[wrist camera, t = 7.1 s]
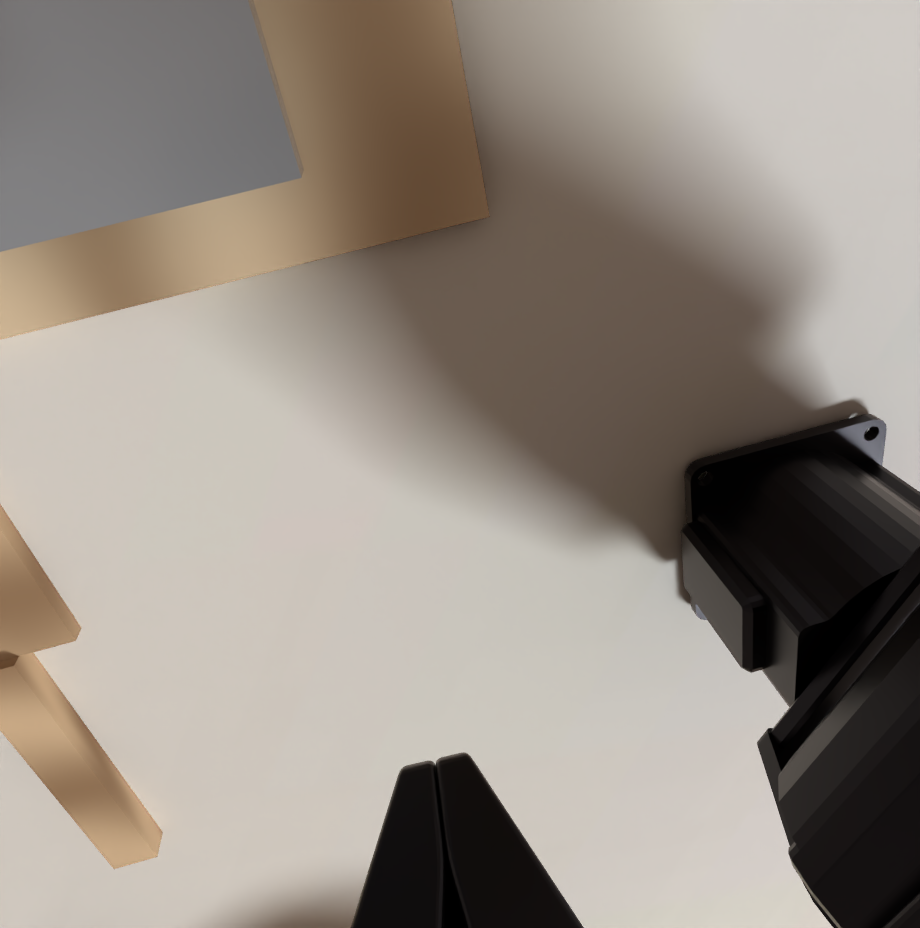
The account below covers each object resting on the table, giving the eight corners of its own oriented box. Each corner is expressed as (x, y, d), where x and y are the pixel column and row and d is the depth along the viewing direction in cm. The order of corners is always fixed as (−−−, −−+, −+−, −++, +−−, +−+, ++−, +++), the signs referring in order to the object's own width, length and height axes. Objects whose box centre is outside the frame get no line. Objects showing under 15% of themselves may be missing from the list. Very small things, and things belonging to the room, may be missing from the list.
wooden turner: (-218, 511, 18) (-245, 533, 17) (-27, 462, 18) (-45, 480, 17) (76, 855, 26) (67, 882, 25) (207, 818, 26) (203, 843, 25)
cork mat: (348, -540, 11) (350, -571, 11) (484, 212, 17) (489, 216, 17) (-667, -336, 11) (-718, -358, 10) (-160, 374, 17) (-175, 383, 16)
